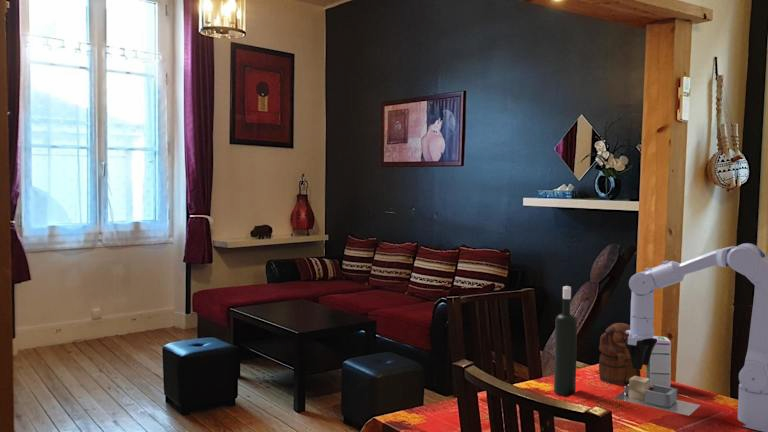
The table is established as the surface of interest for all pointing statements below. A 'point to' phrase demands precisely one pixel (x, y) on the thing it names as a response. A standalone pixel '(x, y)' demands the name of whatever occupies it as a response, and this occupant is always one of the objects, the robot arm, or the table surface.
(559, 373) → the wine bottle
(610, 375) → the wooden figurine
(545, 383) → the table surface
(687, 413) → the base plate
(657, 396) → the housing slider
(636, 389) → the block
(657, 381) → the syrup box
